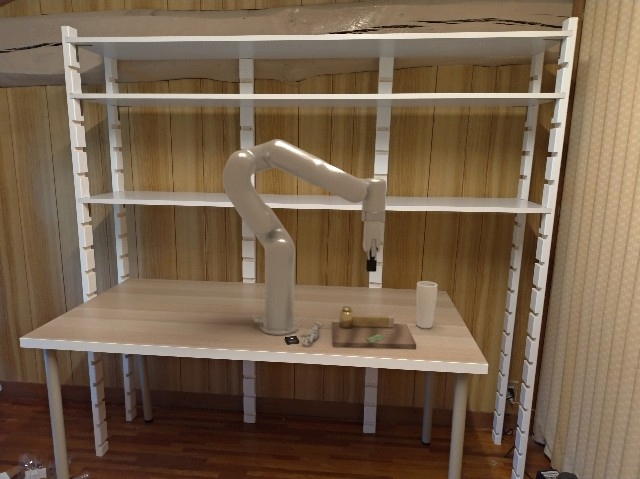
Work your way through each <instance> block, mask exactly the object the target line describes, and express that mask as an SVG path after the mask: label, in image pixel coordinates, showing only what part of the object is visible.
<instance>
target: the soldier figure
mask: <svg viewBox="0 0 640 479" xmlns="http://www.w3.org/2000/svg"><path fill="white" fill-rule="evenodd" d="M314 325H315V326H313V327H312V329H311V330H310V332H309V333H301V335H300V337H302V338H303V337H304V340H303V341H301V343H300V344H301V345H302V346H304V347H308V346H309V345H308V343H310V344H313V341H315V340H316V339H317V338H318V337H319V333H320V330H321V329H322V326H324V324H322V323H321V322H318V321H314Z"/></svg>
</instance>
